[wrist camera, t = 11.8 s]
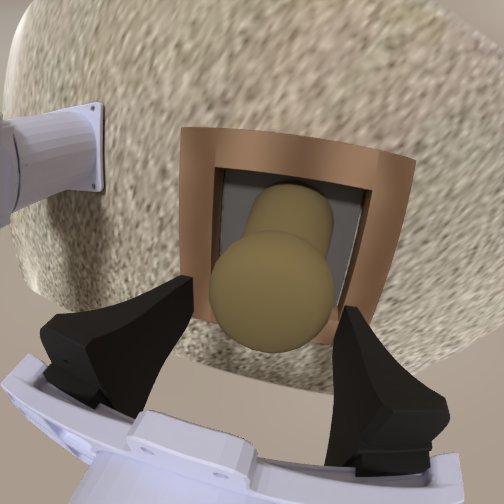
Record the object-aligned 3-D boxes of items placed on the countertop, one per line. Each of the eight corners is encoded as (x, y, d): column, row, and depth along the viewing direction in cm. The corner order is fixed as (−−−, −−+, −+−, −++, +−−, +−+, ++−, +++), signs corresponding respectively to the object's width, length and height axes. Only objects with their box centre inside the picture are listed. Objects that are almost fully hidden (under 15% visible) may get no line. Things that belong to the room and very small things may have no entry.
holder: (191, 302, 25) (182, 315, 23) (193, 127, 19) (181, 127, 17) (357, 333, 23) (359, 348, 21) (406, 157, 16) (416, 160, 15)
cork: (318, 270, 21) (311, 387, 11) (241, 246, 22) (180, 345, 12) (346, 195, 18) (376, 275, 9) (261, 169, 19) (197, 218, 9)
